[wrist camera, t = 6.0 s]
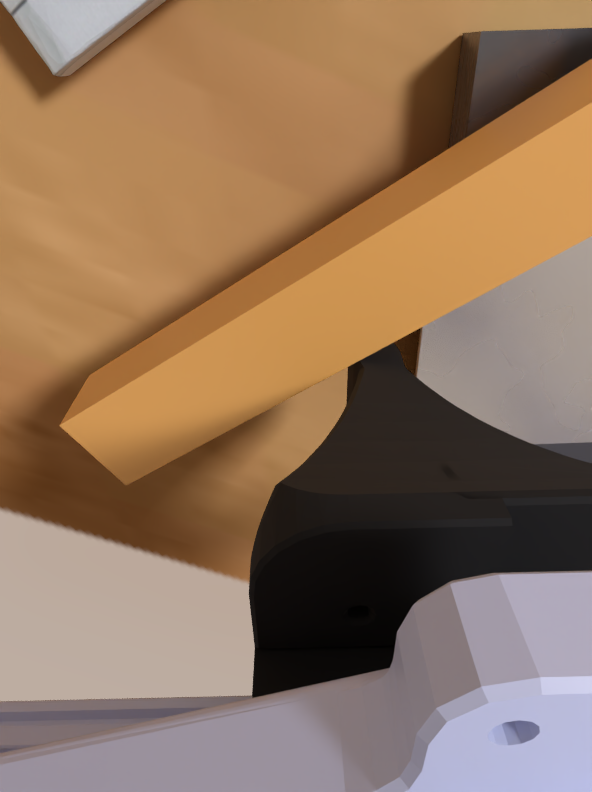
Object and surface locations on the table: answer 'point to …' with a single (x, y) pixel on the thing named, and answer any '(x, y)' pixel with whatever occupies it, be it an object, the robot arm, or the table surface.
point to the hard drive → (75, 27)
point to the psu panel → (519, 277)
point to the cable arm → (352, 285)
